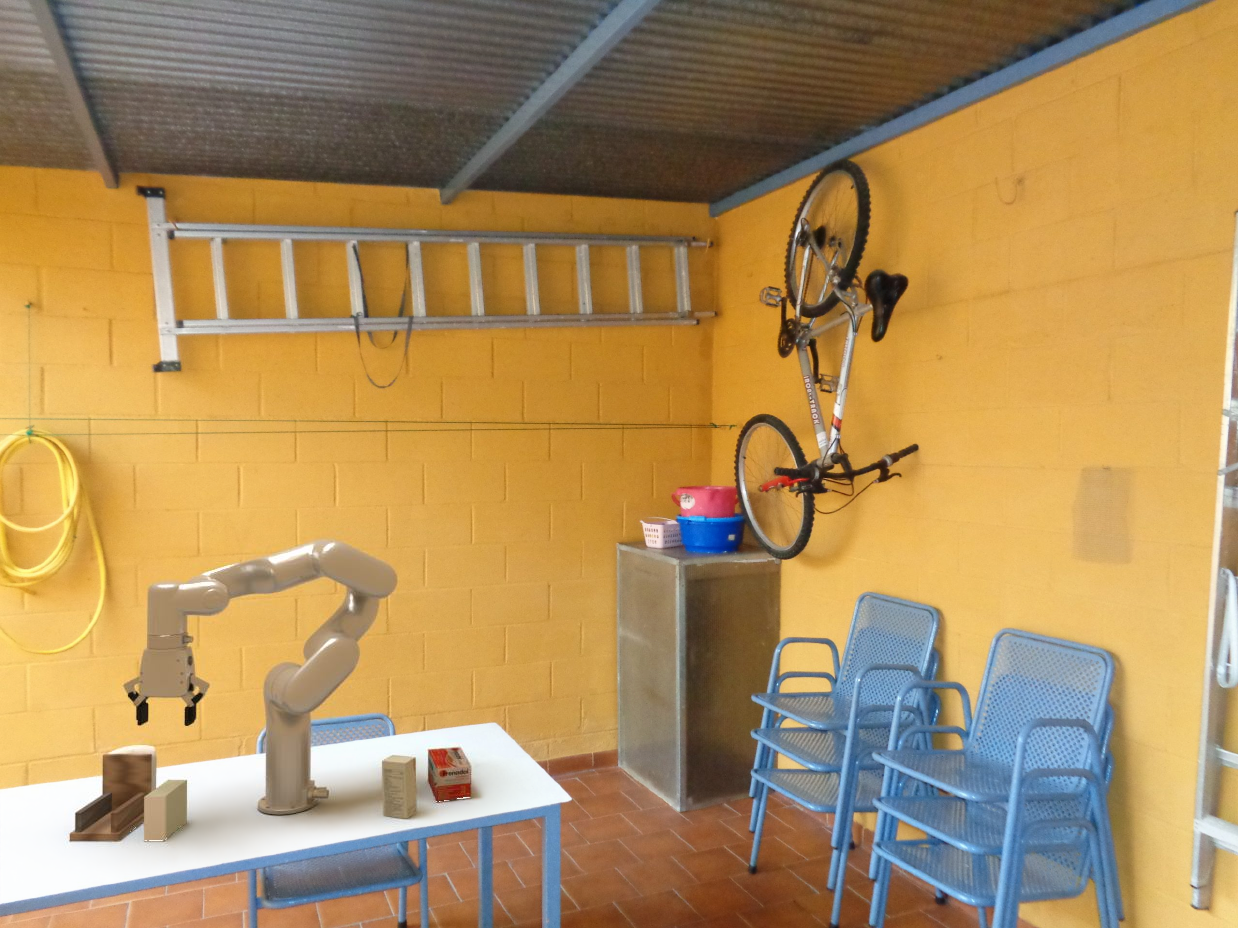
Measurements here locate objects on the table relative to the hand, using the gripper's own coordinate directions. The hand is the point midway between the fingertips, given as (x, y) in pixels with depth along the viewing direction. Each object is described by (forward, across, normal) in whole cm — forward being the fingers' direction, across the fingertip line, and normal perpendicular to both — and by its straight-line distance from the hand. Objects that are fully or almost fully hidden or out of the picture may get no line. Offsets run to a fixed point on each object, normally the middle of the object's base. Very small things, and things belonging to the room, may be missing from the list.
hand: (166, 723), depth 192 cm
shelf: (+22, +12, -2) cm, 25 cm away
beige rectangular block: (+22, 0, 0) cm, 22 cm away
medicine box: (+22, -54, -25) cm, 64 cm away
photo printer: (+22, +16, -17) cm, 32 cm away
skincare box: (+22, -46, -10) cm, 52 cm away
